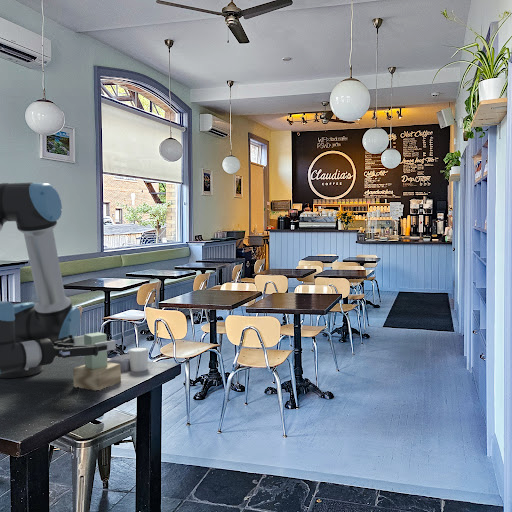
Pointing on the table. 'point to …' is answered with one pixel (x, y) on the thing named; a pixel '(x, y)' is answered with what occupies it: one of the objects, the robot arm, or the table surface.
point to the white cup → (138, 358)
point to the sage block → (101, 358)
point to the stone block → (121, 361)
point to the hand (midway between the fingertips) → (103, 341)
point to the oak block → (97, 376)
